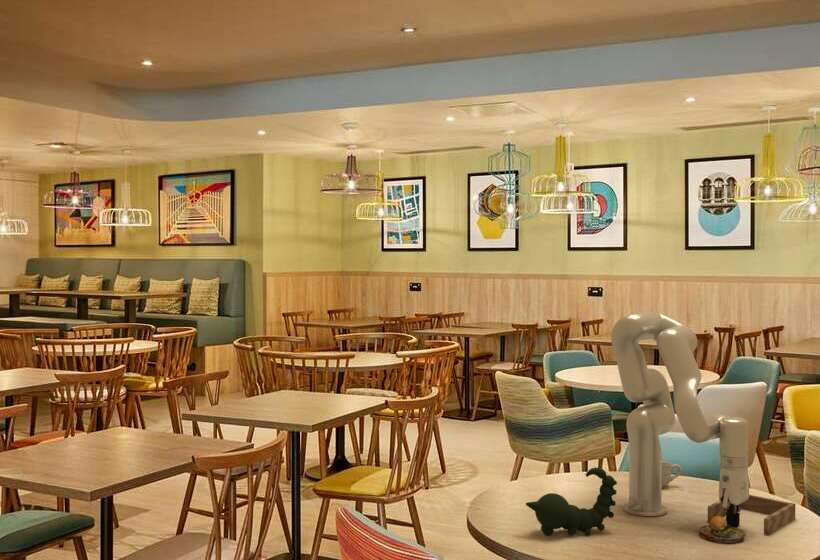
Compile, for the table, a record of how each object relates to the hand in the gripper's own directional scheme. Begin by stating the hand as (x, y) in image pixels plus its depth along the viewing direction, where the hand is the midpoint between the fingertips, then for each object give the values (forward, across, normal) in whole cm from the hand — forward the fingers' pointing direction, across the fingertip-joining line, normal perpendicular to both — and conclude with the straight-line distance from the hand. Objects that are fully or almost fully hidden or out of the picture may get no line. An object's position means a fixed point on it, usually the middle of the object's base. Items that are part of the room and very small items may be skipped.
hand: (732, 526), depth 239 cm
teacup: (+2, +28, +37) cm, 46 cm away
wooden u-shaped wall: (+1, +13, 0) cm, 13 cm away
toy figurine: (+2, -33, +32) cm, 46 cm away
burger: (+2, -7, 0) cm, 7 cm away
